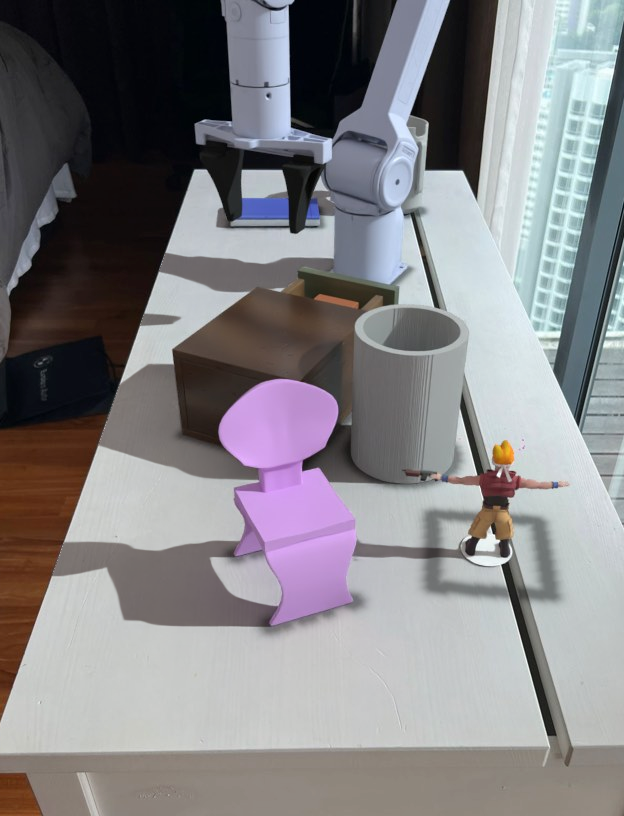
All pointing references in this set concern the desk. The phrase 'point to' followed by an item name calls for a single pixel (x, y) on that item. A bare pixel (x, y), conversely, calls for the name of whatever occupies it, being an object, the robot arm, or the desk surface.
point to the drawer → (343, 288)
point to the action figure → (491, 506)
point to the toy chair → (291, 494)
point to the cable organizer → (416, 164)
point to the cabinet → (263, 356)
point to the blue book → (272, 212)
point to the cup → (406, 390)
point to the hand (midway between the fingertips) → (265, 224)
